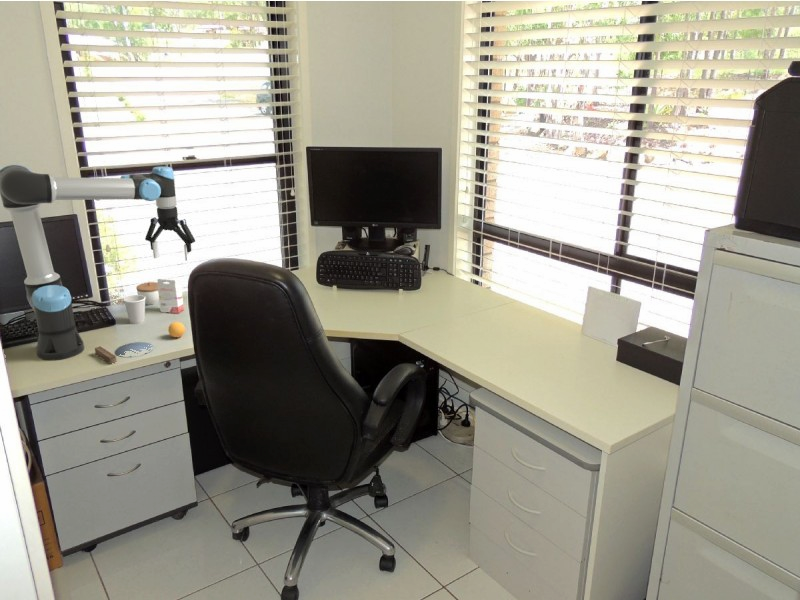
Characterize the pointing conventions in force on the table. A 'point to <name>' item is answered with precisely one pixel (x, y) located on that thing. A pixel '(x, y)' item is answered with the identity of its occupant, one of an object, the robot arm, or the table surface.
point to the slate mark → (133, 347)
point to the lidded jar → (149, 292)
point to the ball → (176, 329)
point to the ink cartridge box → (170, 296)
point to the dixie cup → (135, 308)
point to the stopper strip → (105, 355)
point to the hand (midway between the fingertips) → (172, 258)
